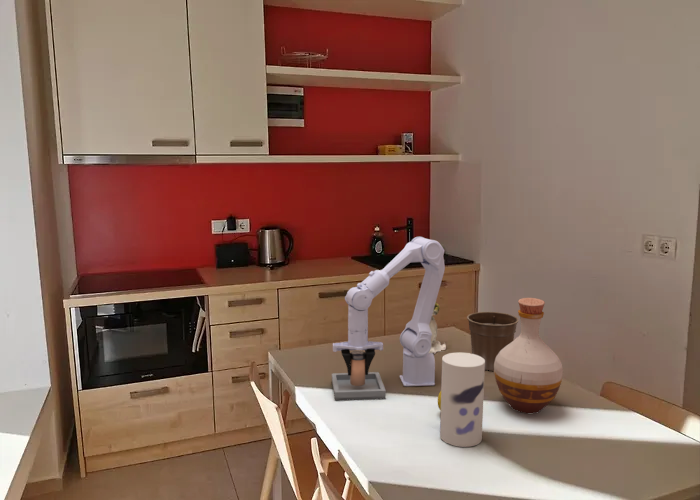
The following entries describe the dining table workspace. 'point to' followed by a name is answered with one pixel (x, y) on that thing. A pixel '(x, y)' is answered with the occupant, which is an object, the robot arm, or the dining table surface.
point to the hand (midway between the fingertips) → (357, 373)
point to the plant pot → (491, 334)
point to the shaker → (357, 368)
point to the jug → (528, 364)
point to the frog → (435, 333)
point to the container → (462, 399)
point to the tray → (358, 387)
